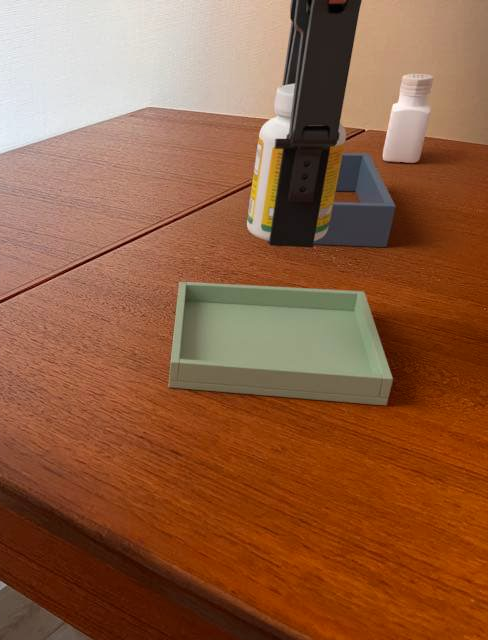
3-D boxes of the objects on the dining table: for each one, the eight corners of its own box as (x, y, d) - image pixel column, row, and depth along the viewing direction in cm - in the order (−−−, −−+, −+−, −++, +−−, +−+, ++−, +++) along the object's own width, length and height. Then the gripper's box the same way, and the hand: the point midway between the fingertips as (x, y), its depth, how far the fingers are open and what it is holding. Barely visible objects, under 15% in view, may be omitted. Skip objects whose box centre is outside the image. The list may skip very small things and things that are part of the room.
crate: (362, 189, 95) (369, 153, 93) (386, 247, 80) (396, 206, 78) (260, 187, 97) (265, 151, 95) (267, 242, 83) (273, 202, 81)
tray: (359, 315, 69) (364, 291, 68) (386, 406, 57) (393, 378, 56) (177, 304, 72) (179, 281, 71) (168, 387, 61) (170, 361, 60)
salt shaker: (418, 155, 104) (437, 73, 99) (418, 164, 101) (438, 80, 96) (382, 153, 106) (399, 72, 101) (381, 162, 103) (398, 79, 98)
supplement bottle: (230, 226, 61) (247, 86, 57) (292, 214, 63) (314, 77, 58) (280, 251, 57) (303, 101, 52) (345, 237, 59) (374, 90, 54)
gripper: (272, -162, 56) (231, 187, 68) (290, -172, 41) (232, 277, 53) (397, -170, 54) (332, 189, 66) (464, -185, 39) (363, 284, 51)
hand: (288, 228), depth 60 cm, fingers closed on supplement bottle, 5 cm apart
